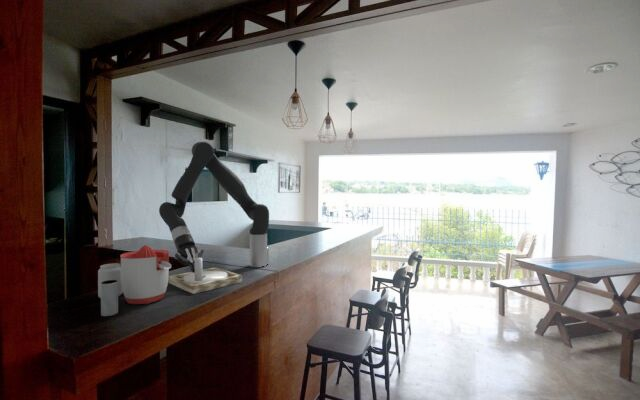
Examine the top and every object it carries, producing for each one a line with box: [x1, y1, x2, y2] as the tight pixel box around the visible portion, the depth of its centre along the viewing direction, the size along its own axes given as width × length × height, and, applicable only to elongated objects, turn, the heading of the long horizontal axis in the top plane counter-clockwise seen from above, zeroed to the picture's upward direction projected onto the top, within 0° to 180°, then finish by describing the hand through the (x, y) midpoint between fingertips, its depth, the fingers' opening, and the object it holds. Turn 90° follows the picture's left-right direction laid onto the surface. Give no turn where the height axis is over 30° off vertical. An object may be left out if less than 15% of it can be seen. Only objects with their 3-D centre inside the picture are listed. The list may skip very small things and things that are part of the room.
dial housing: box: [168, 266, 243, 295], centre depth 133 cm, size 22×22×3 cm
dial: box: [183, 257, 227, 284], centre depth 133 cm, size 18×18×10 cm
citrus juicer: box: [119, 244, 172, 305], centre depth 111 cm, size 16×17×20 cm
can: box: [97, 262, 124, 299], centre depth 114 cm, size 8×8×12 cm
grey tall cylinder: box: [100, 280, 119, 317], centre depth 98 cm, size 4×4×10 cm
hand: (196, 271), depth 127 cm, fingers closed
